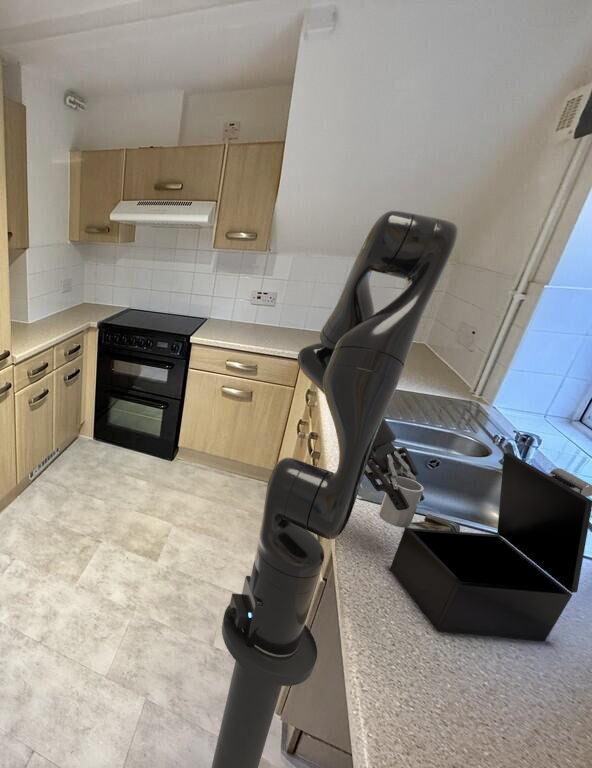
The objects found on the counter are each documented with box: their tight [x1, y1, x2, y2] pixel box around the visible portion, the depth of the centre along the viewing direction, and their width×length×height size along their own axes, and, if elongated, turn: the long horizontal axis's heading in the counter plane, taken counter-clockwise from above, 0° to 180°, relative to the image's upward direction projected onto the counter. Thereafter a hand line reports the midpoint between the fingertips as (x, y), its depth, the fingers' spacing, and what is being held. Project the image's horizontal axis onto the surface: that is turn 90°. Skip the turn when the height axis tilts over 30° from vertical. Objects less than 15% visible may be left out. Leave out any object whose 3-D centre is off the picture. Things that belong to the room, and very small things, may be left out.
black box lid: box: [497, 452, 592, 594], centre depth 67 cm, size 17×14×5 cm
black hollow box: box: [389, 527, 573, 642], centre depth 73 cm, size 17×14×10 cm
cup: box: [378, 476, 425, 529], centre depth 82 cm, size 5×5×8 cm
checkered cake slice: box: [407, 513, 461, 532], centre depth 89 cm, size 10×7×12 cm
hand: (411, 504), depth 81 cm, fingers closed on cup, 5 cm apart
